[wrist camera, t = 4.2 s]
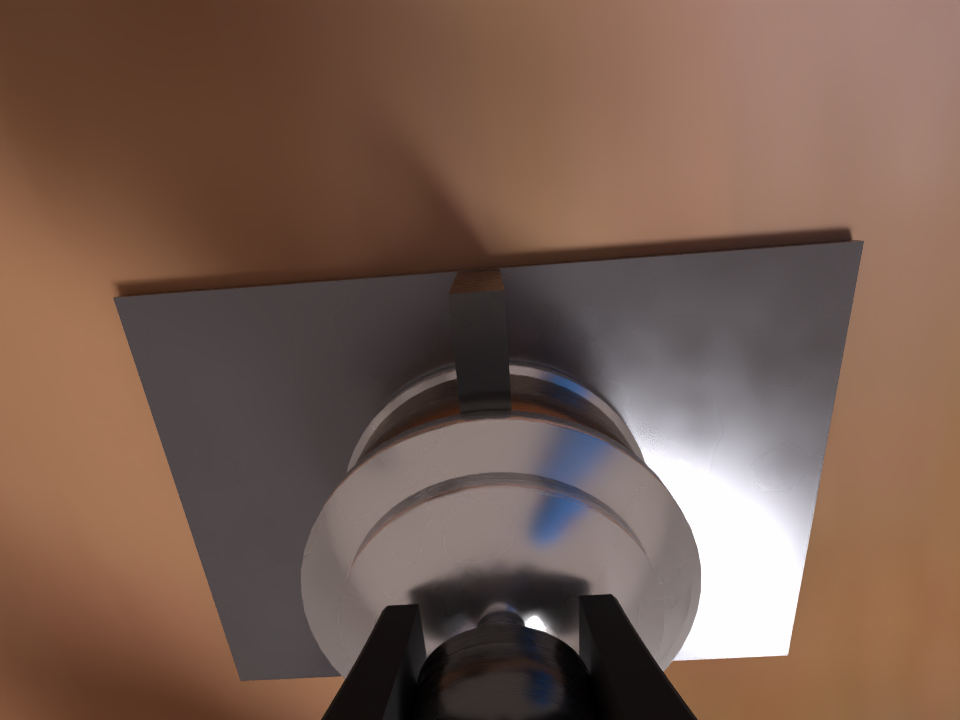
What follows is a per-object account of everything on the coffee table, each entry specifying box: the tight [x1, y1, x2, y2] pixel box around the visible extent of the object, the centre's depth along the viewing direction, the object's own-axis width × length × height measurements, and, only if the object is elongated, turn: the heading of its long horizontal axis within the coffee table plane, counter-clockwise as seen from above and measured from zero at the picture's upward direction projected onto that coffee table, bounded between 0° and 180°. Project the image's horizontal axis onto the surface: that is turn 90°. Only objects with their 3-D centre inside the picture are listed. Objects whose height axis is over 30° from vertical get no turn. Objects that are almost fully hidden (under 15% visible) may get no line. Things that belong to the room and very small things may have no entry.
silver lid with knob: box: [339, 472, 665, 720], centre depth 8 cm, size 6×6×3 cm
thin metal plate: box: [114, 240, 864, 681], centre depth 11 cm, size 13×18×4 cm
